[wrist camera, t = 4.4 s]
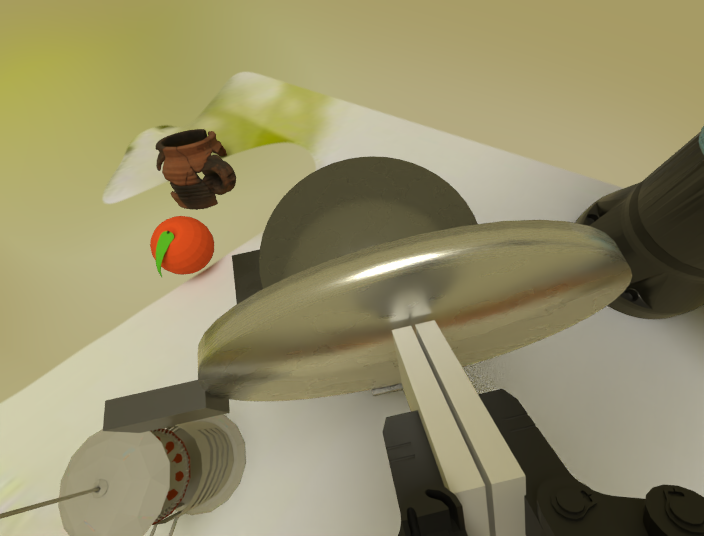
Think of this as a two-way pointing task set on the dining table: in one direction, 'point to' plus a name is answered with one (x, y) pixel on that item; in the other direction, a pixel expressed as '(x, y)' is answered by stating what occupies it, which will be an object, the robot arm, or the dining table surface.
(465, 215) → the pressure cooker pot
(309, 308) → the cooker lid
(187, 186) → the pottery mug
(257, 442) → the dining table surface
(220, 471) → the french press
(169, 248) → the clementine
